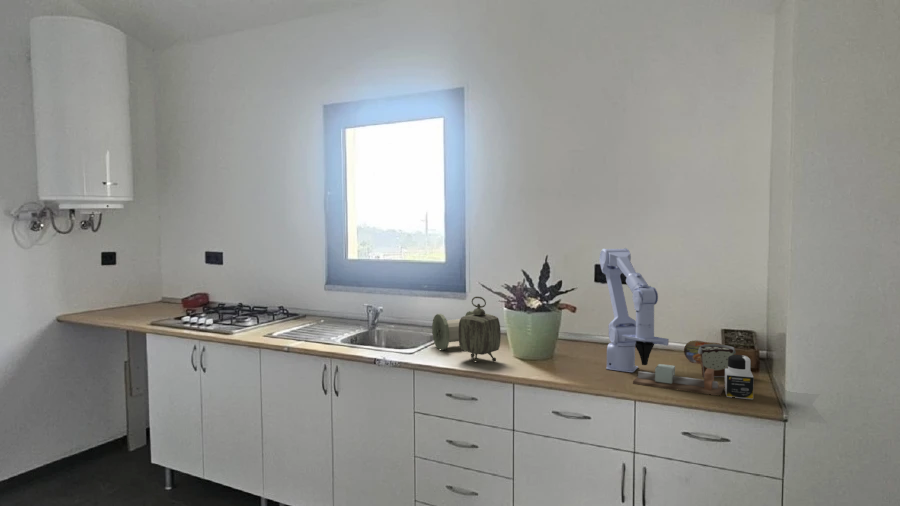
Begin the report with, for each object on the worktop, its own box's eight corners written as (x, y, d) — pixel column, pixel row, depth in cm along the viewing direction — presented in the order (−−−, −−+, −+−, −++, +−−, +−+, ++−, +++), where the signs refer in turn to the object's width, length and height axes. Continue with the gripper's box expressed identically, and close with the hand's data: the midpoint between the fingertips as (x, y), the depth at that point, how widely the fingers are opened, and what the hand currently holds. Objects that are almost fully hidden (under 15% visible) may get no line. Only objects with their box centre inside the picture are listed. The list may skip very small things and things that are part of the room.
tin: (683, 361, 206) (683, 339, 206) (686, 359, 209) (686, 337, 208) (726, 368, 196) (726, 345, 196) (729, 366, 198) (729, 343, 198)
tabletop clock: (500, 361, 209) (500, 297, 207) (486, 366, 202) (485, 299, 201) (471, 356, 219) (471, 293, 217) (456, 360, 212) (456, 296, 210)
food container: (725, 371, 192) (726, 343, 191) (735, 376, 186) (735, 347, 185) (691, 372, 191) (691, 344, 191) (699, 377, 185) (700, 348, 185)
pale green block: (655, 381, 178) (655, 368, 177) (658, 376, 183) (659, 363, 182) (671, 383, 175) (671, 370, 175) (674, 379, 180) (675, 365, 180)
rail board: (633, 383, 179) (633, 365, 179) (640, 375, 188) (640, 358, 188) (720, 396, 166) (721, 376, 165) (724, 387, 174) (724, 368, 174)
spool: (466, 342, 243) (466, 308, 242) (482, 349, 230) (481, 314, 229) (432, 346, 237) (431, 311, 236) (446, 353, 223) (445, 317, 222)
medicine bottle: (726, 397, 165) (727, 358, 164) (724, 390, 171) (725, 352, 170) (753, 399, 162) (754, 360, 161) (750, 392, 168) (751, 354, 168)
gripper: (619, 324, 182) (619, 364, 182) (665, 327, 174) (665, 370, 175) (625, 320, 188) (624, 359, 188) (669, 324, 180) (669, 365, 181)
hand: (644, 364), depth 182 cm, fingers closed
